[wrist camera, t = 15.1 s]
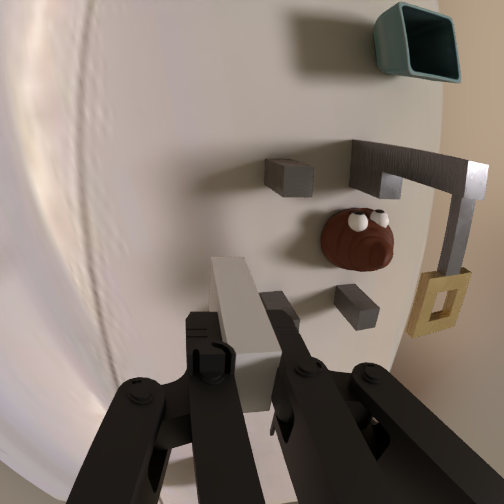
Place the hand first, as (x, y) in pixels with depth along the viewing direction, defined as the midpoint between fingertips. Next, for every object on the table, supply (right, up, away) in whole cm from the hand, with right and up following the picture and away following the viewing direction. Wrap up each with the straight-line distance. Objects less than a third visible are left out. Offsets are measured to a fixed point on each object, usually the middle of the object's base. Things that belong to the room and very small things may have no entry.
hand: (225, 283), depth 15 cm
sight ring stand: (+15, +8, +25) cm, 30 cm away
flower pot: (+19, +28, +19) cm, 38 cm away
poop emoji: (+15, +4, +27) cm, 31 cm away
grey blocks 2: (+15, +3, +27) cm, 31 cm away
